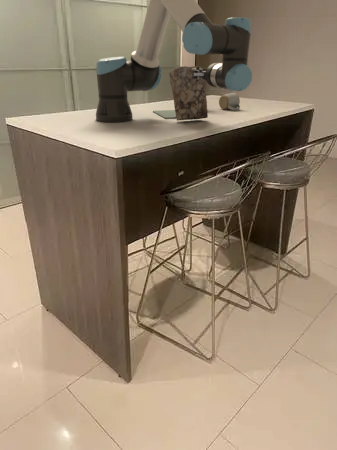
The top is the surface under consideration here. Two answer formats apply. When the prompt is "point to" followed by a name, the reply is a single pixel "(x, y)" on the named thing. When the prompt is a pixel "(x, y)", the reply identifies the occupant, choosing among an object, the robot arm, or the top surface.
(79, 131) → the top surface
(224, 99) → the ceramic mug
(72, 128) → the top surface
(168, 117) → the rubber mat
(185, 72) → the stone block
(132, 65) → the robot arm
